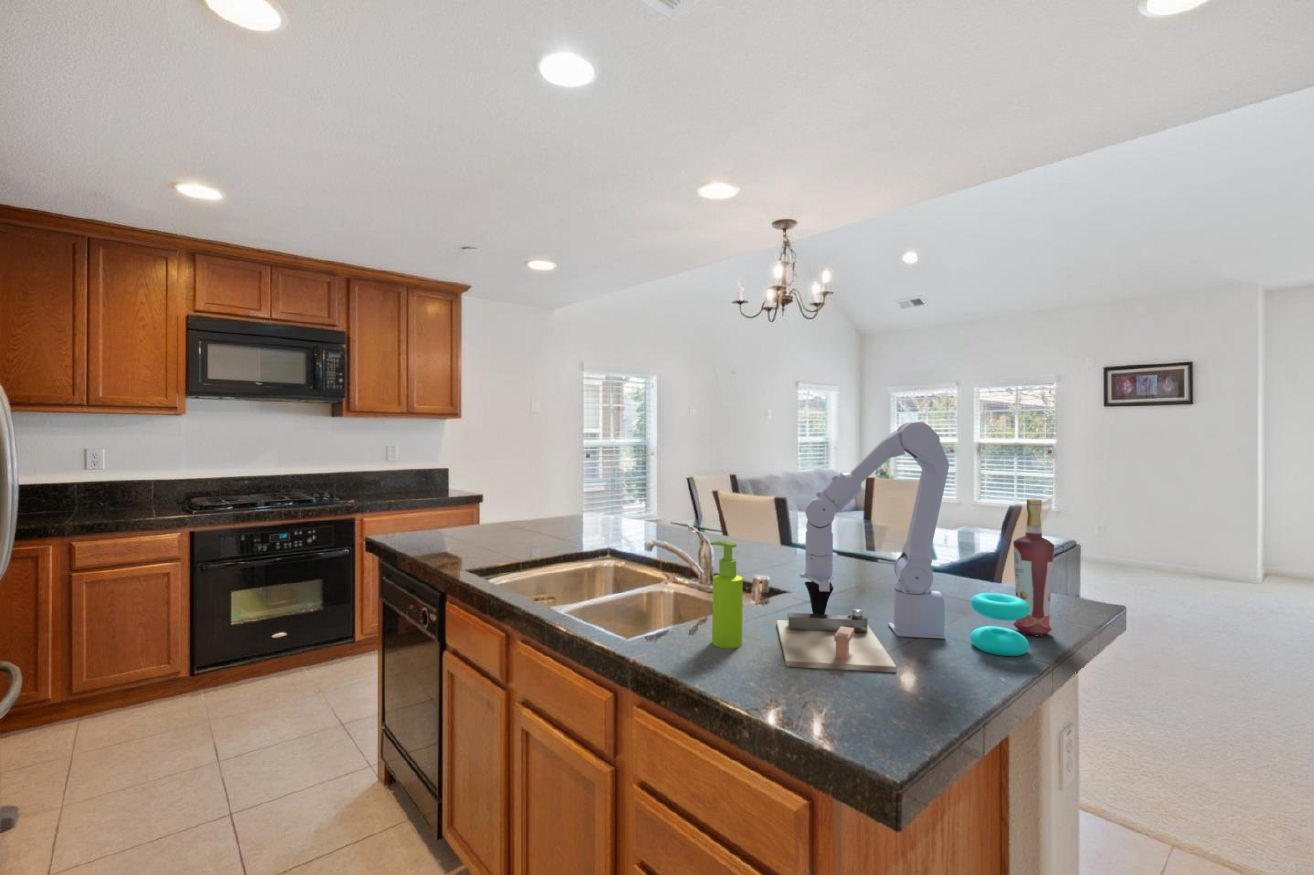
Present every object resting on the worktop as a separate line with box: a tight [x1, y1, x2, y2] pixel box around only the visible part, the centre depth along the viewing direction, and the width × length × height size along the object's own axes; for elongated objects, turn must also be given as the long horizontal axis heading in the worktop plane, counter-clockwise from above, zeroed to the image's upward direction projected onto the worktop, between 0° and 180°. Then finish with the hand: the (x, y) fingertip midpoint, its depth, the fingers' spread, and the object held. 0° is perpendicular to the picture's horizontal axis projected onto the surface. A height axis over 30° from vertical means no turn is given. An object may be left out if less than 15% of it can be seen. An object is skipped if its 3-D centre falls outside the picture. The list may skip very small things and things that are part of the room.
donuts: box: [969, 592, 1030, 657], centre depth 120 cm, size 10×10×10 cm
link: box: [787, 608, 869, 633], centre depth 128 cm, size 16×4×4 cm, turn 83°
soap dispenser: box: [709, 540, 744, 649], centre depth 123 cm, size 6×7×20 cm
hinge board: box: [776, 619, 897, 673], centre depth 121 cm, size 19×24×1 cm
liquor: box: [1012, 498, 1055, 637], centre depth 130 cm, size 7×7×28 cm
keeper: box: [834, 626, 854, 660], centre depth 115 cm, size 6×2×4 cm, turn 153°
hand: (818, 616), depth 134 cm, fingers closed
